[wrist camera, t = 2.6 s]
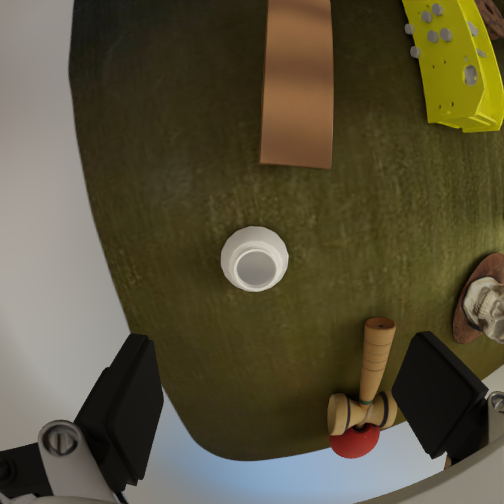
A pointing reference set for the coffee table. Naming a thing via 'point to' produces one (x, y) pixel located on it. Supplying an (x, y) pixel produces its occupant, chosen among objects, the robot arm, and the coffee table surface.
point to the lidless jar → (254, 258)
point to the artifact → (491, 18)
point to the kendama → (364, 397)
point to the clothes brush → (297, 85)
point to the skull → (482, 303)
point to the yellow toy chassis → (456, 64)
